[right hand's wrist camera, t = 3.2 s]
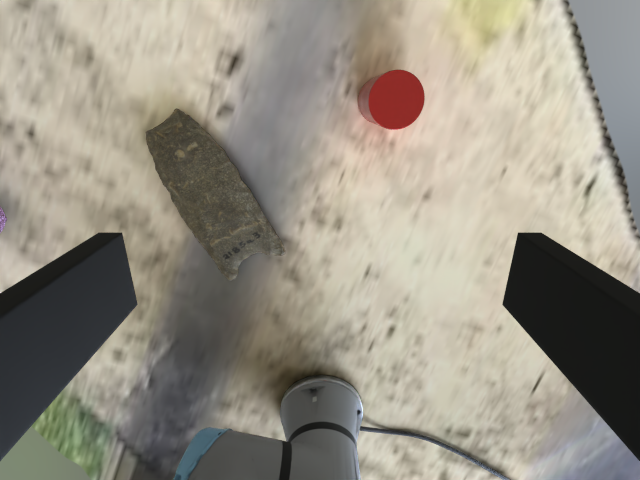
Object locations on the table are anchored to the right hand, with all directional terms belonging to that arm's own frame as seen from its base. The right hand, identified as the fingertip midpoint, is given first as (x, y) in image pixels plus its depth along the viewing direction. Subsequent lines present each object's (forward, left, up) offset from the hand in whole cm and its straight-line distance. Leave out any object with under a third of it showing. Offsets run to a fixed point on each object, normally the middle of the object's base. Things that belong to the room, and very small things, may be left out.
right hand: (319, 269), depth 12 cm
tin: (-4, -9, -41) cm, 42 cm away
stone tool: (+9, +15, -41) cm, 45 cm away
